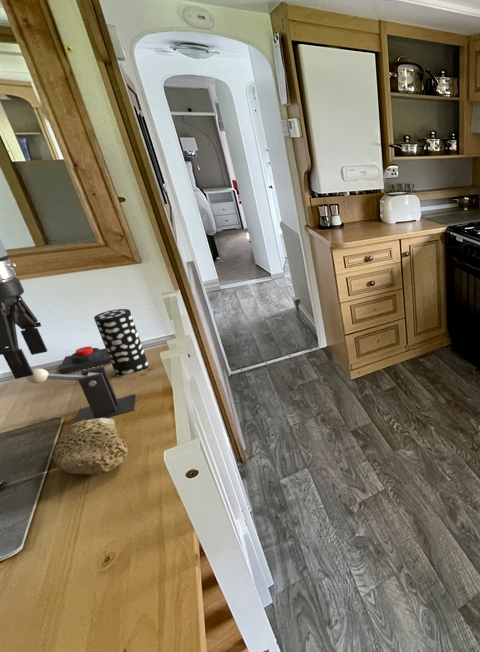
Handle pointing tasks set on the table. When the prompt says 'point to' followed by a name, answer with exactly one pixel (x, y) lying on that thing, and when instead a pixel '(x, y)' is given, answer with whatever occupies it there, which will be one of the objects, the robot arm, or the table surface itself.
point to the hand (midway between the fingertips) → (32, 364)
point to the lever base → (102, 397)
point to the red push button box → (84, 361)
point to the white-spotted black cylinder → (121, 341)
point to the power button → (84, 351)
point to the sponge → (90, 447)
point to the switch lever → (52, 376)
